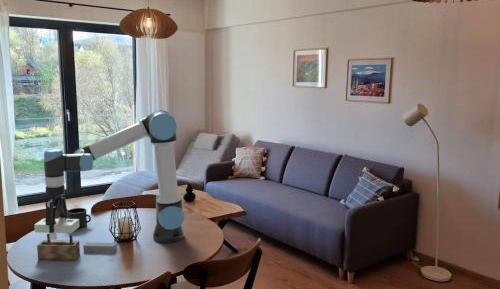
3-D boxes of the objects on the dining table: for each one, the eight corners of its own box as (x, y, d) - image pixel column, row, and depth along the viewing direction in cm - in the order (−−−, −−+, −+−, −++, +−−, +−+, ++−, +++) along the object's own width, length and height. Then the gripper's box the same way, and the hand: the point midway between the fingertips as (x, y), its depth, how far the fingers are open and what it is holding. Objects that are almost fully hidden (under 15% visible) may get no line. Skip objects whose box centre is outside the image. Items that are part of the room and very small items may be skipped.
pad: (116, 249, 199) (116, 243, 199) (113, 252, 195) (113, 246, 195) (87, 248, 199) (86, 242, 199) (83, 251, 195) (83, 245, 195)
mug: (87, 230, 223) (87, 213, 221) (65, 229, 223) (64, 213, 221) (94, 224, 232) (93, 208, 230) (72, 223, 232) (71, 207, 230)
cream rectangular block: (79, 226, 190) (78, 217, 190) (71, 233, 182) (71, 223, 182) (44, 225, 191) (43, 216, 190) (34, 232, 183) (34, 222, 182)
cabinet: (80, 255, 191) (78, 233, 190) (74, 261, 186) (73, 238, 184) (44, 254, 192) (43, 232, 190) (38, 260, 186) (36, 237, 184)
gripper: (57, 179, 194) (60, 227, 197) (33, 191, 173) (37, 244, 177) (74, 179, 194) (76, 227, 197) (52, 191, 173) (55, 245, 177)
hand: (57, 235), depth 187 cm, fingers closed on cream rectangular block, 8 cm apart
